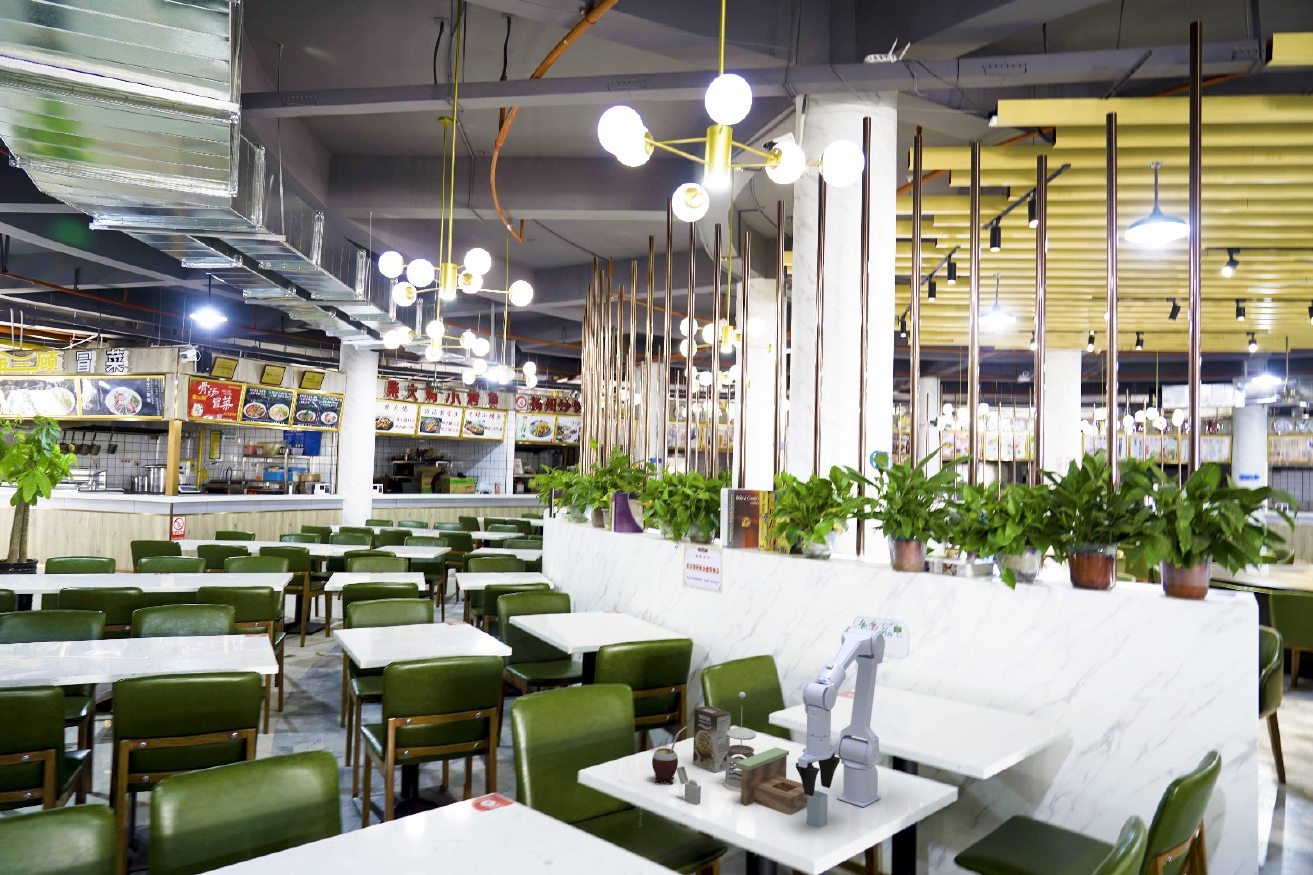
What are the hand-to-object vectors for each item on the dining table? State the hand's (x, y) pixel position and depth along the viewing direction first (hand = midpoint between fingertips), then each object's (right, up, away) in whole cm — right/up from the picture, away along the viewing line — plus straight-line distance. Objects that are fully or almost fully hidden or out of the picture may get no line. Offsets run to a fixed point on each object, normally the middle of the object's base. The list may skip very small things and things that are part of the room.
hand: (817, 790), depth 201 cm
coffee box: (-23, -9, +38) cm, 45 cm away
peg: (0, -8, 0) cm, 8 cm away
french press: (-17, -9, +24) cm, 31 cm away
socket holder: (-8, -8, +13) cm, 17 cm away
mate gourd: (-36, -8, +25) cm, 45 cm away
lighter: (-31, -8, +12) cm, 34 cm away
